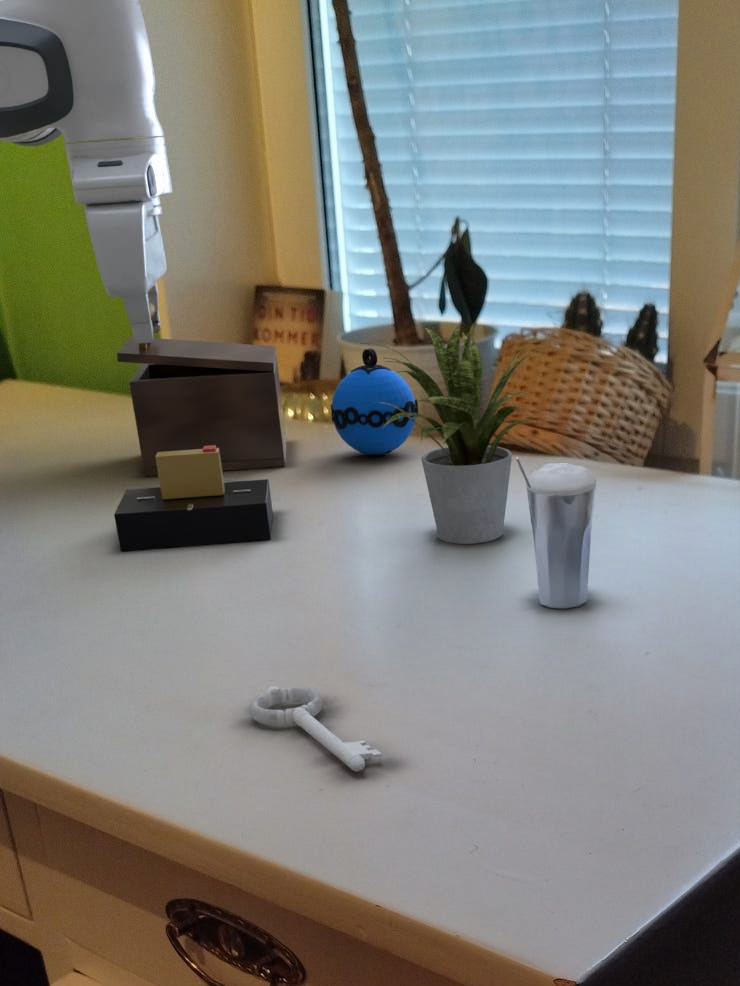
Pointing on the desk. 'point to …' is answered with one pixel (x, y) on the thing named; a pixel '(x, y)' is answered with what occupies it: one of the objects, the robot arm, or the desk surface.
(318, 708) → the key
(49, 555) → the desk surface
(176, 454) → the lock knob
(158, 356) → the lid
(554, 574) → the milkshake
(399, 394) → the ornament
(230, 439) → the box
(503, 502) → the house plant
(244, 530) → the panel
